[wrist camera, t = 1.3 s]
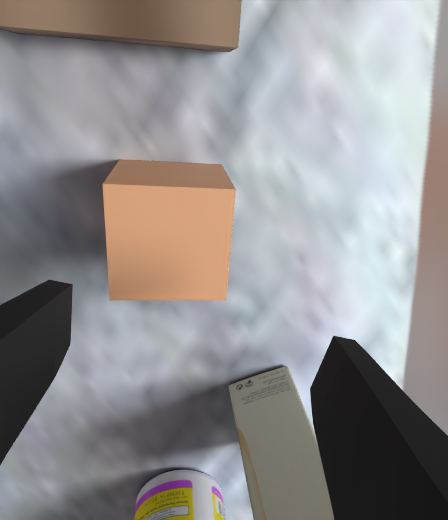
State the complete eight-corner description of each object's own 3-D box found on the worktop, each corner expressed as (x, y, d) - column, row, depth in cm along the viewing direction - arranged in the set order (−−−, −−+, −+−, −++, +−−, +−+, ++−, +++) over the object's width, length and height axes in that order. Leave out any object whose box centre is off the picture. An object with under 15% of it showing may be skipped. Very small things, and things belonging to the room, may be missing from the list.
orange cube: (123, 252, 21) (109, 300, 16) (119, 159, 19) (102, 183, 14) (215, 254, 21) (226, 300, 17) (221, 164, 19) (235, 189, 15)
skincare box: (225, 382, 25) (265, 613, 14) (287, 362, 25) (375, 579, 14) (251, 443, 28) (301, 675, 17) (307, 425, 28) (393, 647, 17)
